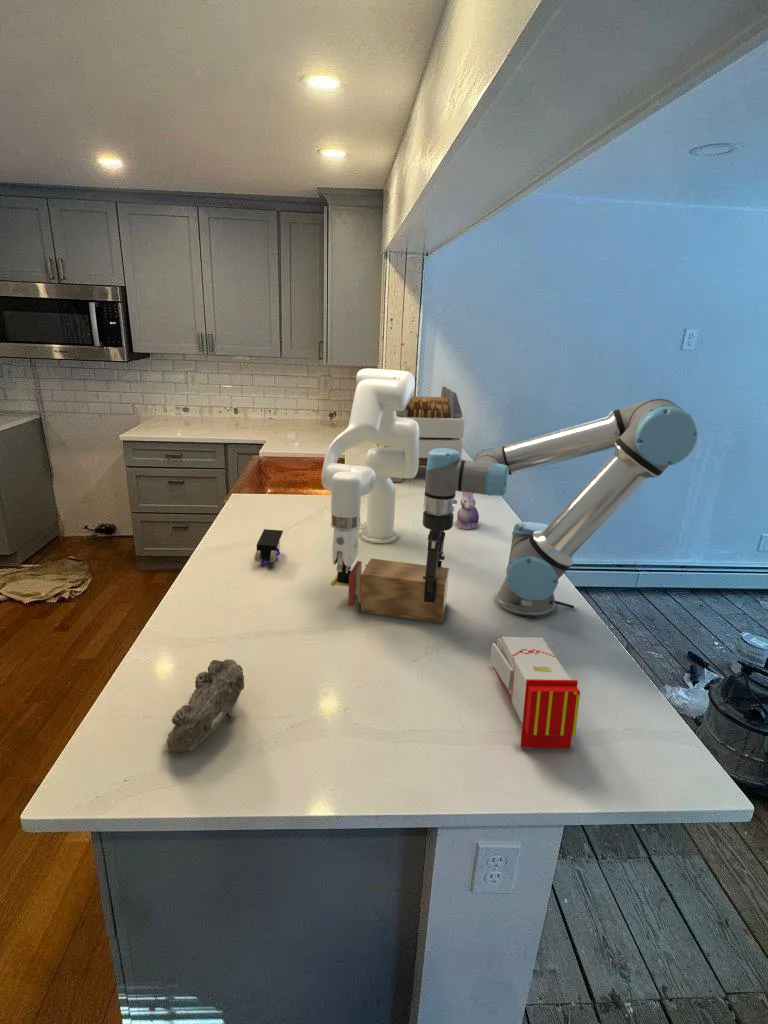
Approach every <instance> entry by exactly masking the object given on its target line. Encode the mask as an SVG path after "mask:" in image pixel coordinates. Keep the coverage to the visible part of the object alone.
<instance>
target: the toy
mask: <svg viewBox="0 0 768 1024" xmlns="http://www.w3.org/2000/svg"><path fill="white" fill-rule="evenodd" d="M489 658H490V659H489V662H490V663H491V665H492V666H493V669H494V671H495V673H496V675H497V677H498V679H499V680H500V682H501V684H502V686H503V687H504V689H505V691H506V693H507V695H508V697H509V699H510V700H511V703H512V705H513V707H514V709H515V712H516V713H517V716H518V718H519V720H520V722H521V735H520V748H521V749H571V746H572V745H571V744H572V737H574V736H575V737H576V733H577V732H576V731H577V723H578V715H579V705H580V697H581V691H580V688H578V683H579V681H578V680H577V679H572V678H571V677H570V675H569V674H568V673H567V671H566V670H565V668H564V667H563V665H562V664H561V662H560V661H559V660H558V659H557V657H556V656H555V654H554V652H553V651H552V650H551V648H550V647H549V645H548V643H547V642H545V640H544V639H543V637H540V636H539V637H536V636H535V637H534V636H526V637H525V636H501V638H500V637H498V638H497V643H496V642H492V643H491V649H490V657H489Z"/></svg>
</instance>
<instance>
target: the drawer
mask: <svg viewBox="0 0 768 1024" xmlns="http://www.w3.org/2000/svg"><path fill="white" fill-rule="evenodd" d="M367 564H368V563H367ZM367 564H365V568H366V566H367ZM362 565H363V561H361V560H357V561H356V563H354V566H353V567H352V568H351V572H350V574H349V584H346V583H339V582H337V581H338V572H337V573H336V575H335V576H334V577H333V579H332V580H331V582H330V585H331V586H332V587H335V586H339V587H348V603H347V605H348V607H349V606H350V607H353V606H354V605H355V603H356V601H357V599H358V605H361V587H362V572H363V571H362V569H363V568H362V567H363V566H362ZM365 568H364V569H365Z"/></svg>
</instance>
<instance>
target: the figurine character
mask: <svg viewBox="0 0 768 1024" xmlns="http://www.w3.org/2000/svg"><path fill="white" fill-rule="evenodd" d="M283 533H284V531H283V530H279V529H269V528H268V529H266V528H264V529H263V530H262V533H261V534H260V536H259V539H258V541H257V543H256V550H255V554H254V562H255V563H260V567H263V566H264V564H265V563H269V567H270V568H272V567H273V564H274V563H275V562H277V560H278V559H277V558H278V557H279V556H281V552H280V549H281V543H280V540H281V538H282V535H283Z"/></svg>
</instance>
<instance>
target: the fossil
mask: <svg viewBox="0 0 768 1024" xmlns="http://www.w3.org/2000/svg"><path fill="white" fill-rule="evenodd" d="M243 670H244V669H243V667H242V665H240V664H237V662H236V661H235V660H234V659H232V658H231V659H227V658H226V659H224V660H223V661H222V660H217V659H212V660H211V661H210V663H209V665H208V666H207V671H201V672H199V673H198V674H197V675H196V676H195V680H194V684H195V685H194V687H195V689H194V690H193V693H192V694H191V697H190V698H189V700H188V704H184V705H182V706H181V707H180V709H177V710H176V711H175V713H174V715H173V716H172V718H171V723H172V724H173V727H172V730H171V731H170V732H168V734H167V738H166V741H167V742H166V745H167V749H168V750H169V751H173V752H174V753H176V754H178V753H182V752H188V751H189V752H192V751H193V750H195V748H196V747H197V746H199V744H200V743H201V742H203V741H204V740H205V739H206V738H207V737H208V736H209V735H210V734H211V733H212V732H214V730H215V729H217V727H218V726H219V724H220V722H221V721H222V720H223V719H224V718H225V716H226V717H227V719H229V720H233V717H232V715H230V714H229V710H230V709H231V708H234V706H235V704H236V703H237V702H238V699H239V697H240V695H241V693H242V691H243V690H245V689H244V688H245V675H244V671H243Z"/></svg>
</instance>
